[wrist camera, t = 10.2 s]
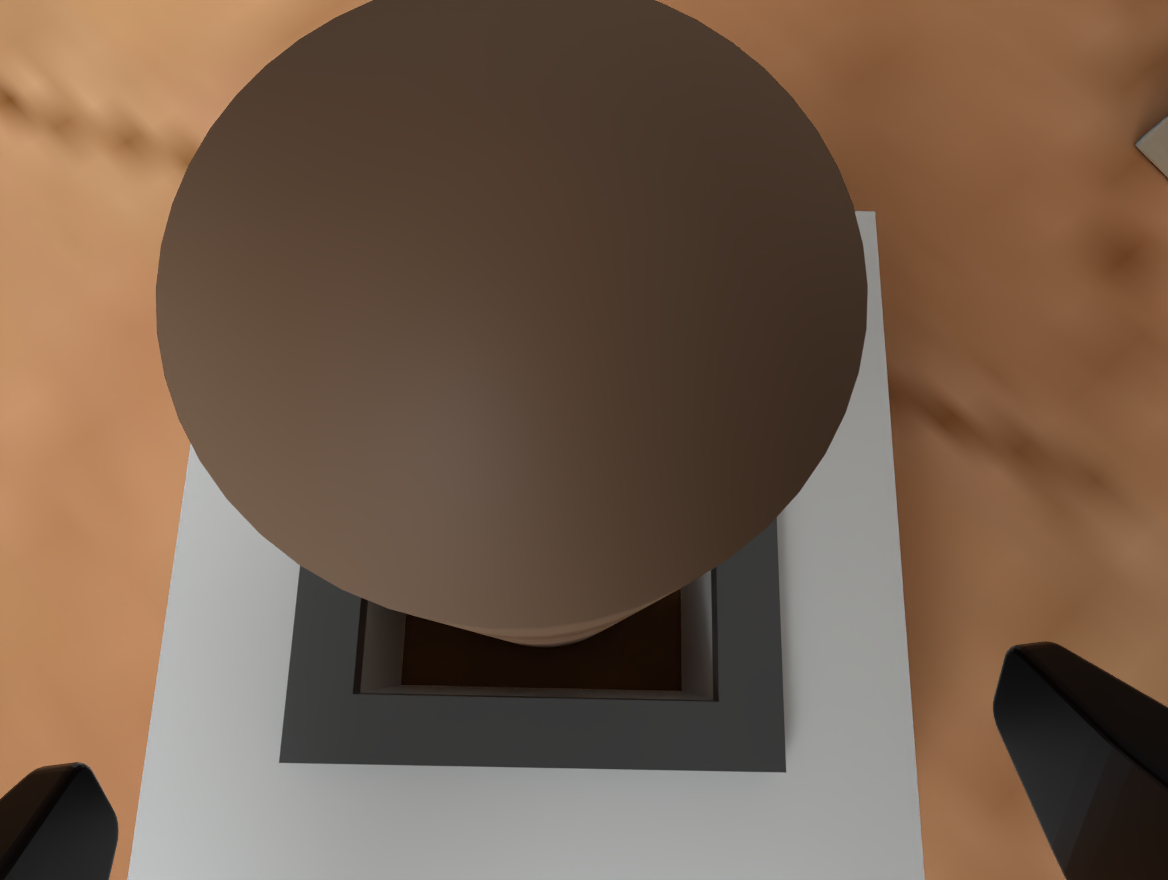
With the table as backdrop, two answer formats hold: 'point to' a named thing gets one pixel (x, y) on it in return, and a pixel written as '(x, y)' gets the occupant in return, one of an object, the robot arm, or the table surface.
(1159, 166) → the stack of blocks
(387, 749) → the socket block
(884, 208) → the table surface
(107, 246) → the table surface
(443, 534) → the walnut peg
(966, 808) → the table surface
